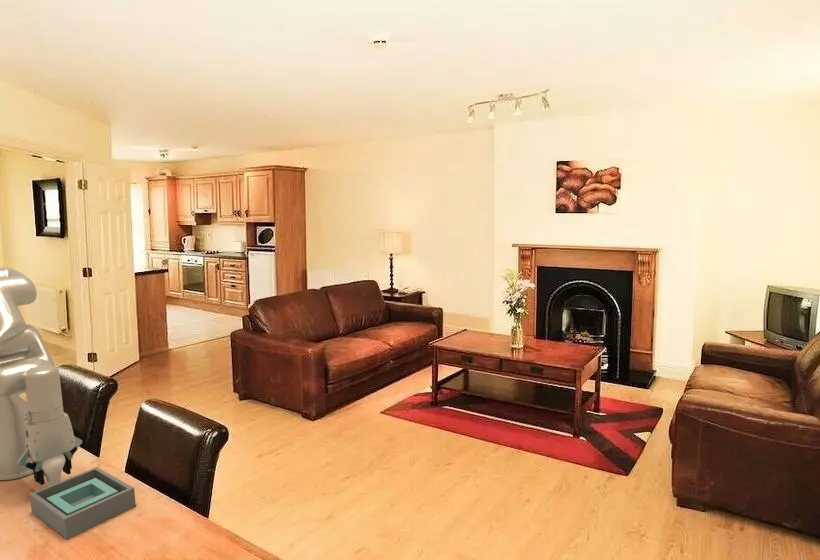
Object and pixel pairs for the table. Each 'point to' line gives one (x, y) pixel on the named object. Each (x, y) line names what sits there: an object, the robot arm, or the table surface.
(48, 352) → the robot arm
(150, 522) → the table surface
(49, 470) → the lightbulb
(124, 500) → the open box
